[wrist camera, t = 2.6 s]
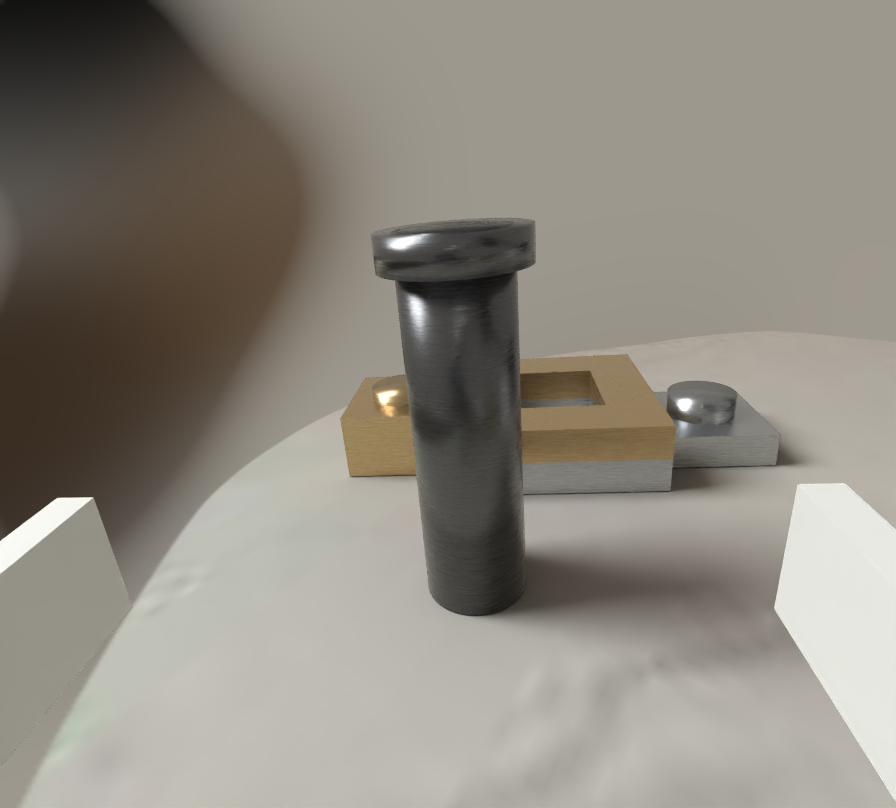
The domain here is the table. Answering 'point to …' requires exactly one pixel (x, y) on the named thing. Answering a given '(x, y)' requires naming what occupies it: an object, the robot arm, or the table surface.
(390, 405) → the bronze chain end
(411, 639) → the table surface
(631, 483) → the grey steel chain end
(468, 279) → the black pin
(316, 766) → the table surface
